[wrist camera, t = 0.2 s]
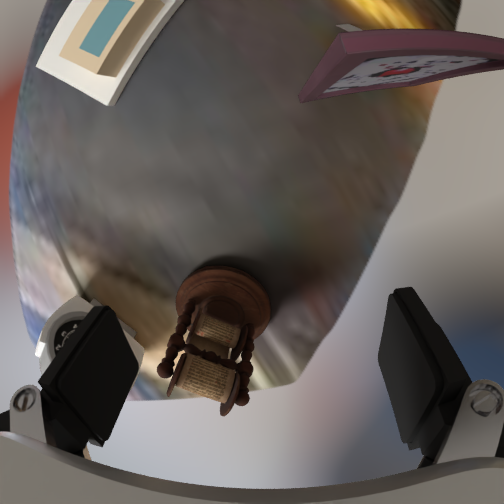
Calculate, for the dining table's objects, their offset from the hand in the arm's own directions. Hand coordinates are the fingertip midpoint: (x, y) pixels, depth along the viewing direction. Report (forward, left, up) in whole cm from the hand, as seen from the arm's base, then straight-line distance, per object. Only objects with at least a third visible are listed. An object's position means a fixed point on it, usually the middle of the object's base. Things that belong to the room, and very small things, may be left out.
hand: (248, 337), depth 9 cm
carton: (-6, -28, -29) cm, 41 cm away
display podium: (-6, -32, -31) cm, 45 cm away
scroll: (+21, +7, -31) cm, 38 cm away
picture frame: (-19, 0, -31) cm, 37 cm away
